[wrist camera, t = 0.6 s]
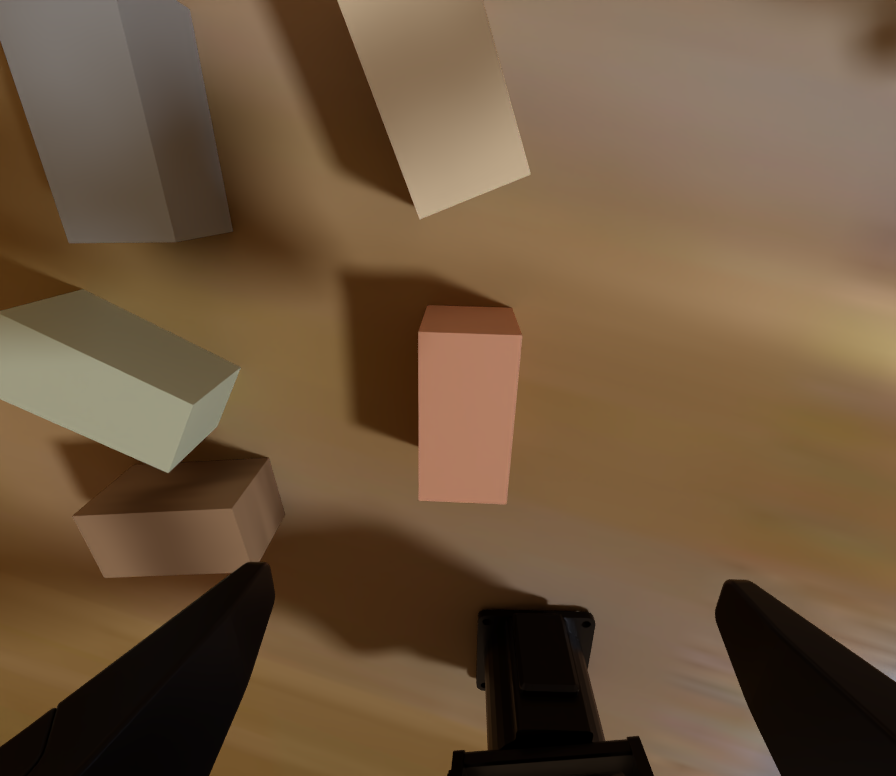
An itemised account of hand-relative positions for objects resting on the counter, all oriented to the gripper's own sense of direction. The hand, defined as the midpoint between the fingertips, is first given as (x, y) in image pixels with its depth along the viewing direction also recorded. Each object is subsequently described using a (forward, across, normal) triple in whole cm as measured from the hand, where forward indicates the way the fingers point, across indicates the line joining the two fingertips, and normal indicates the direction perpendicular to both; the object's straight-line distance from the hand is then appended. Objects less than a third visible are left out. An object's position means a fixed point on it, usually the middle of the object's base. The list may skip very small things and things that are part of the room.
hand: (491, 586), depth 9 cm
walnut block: (+12, +14, +7) cm, 19 cm away
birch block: (+12, +2, -10) cm, 16 cm away
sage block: (+12, +15, 0) cm, 19 cm away
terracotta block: (+12, +1, 0) cm, 12 cm away
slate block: (+12, +12, -9) cm, 19 cm away
